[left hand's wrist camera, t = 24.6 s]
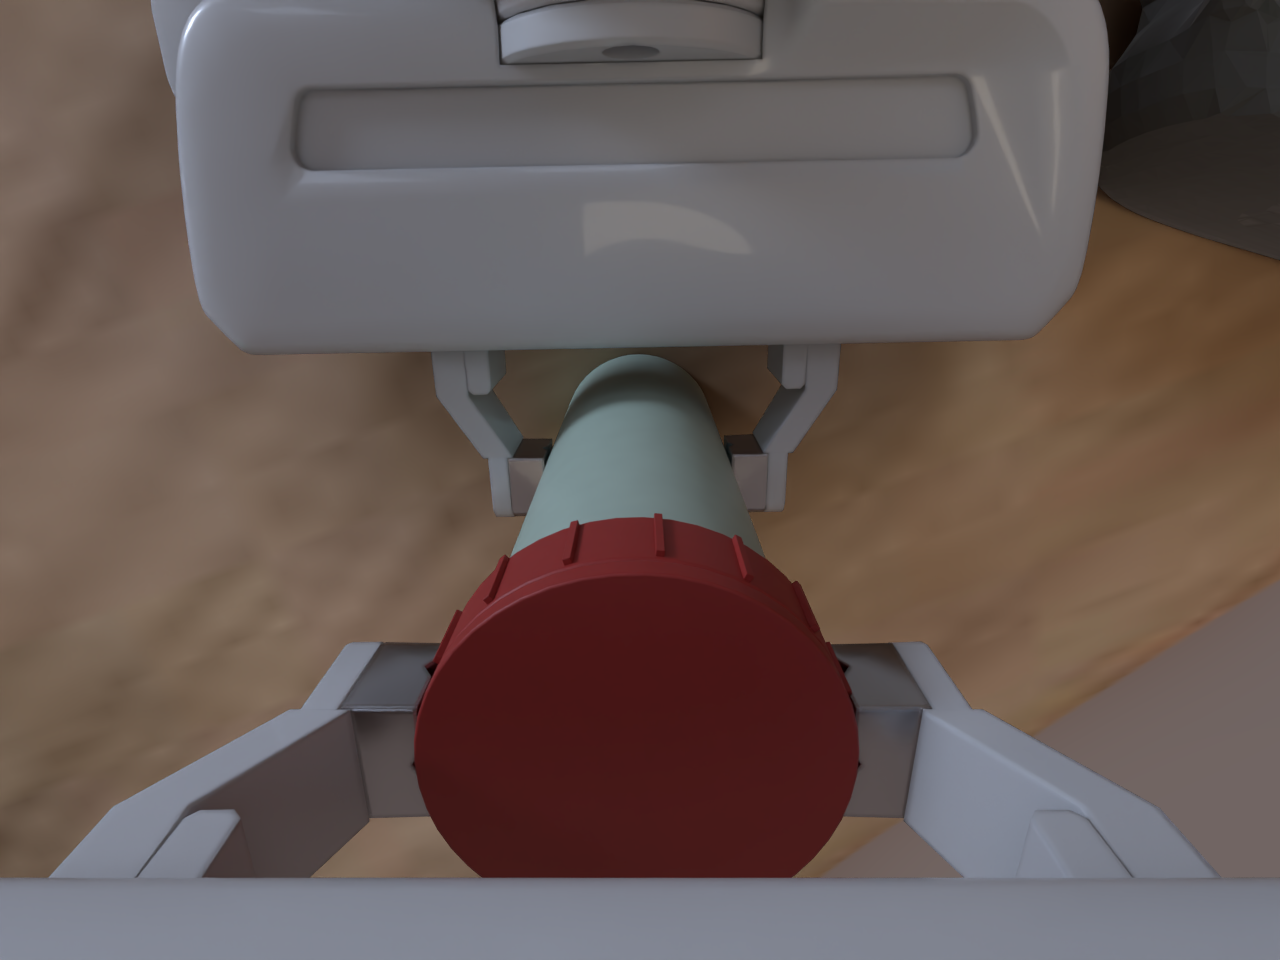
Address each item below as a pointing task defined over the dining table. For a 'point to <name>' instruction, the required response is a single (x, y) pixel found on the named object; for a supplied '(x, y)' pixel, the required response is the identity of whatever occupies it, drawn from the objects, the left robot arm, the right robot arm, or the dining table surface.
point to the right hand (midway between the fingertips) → (640, 507)
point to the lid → (636, 712)
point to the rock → (1199, 121)
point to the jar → (638, 456)
